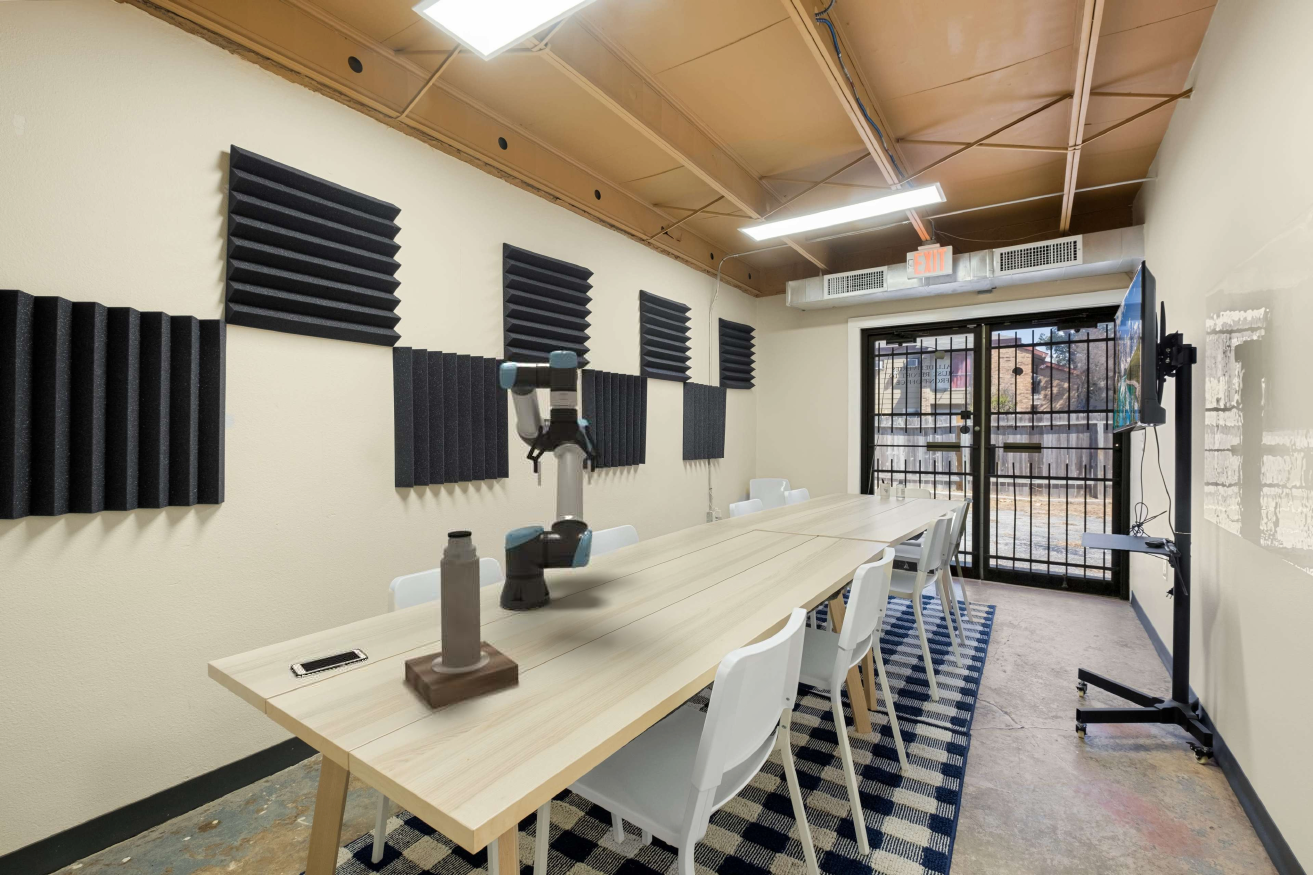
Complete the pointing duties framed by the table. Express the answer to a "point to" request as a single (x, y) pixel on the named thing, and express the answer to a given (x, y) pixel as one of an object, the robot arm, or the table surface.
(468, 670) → the walnut riser
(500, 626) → the table surface
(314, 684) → the table surface
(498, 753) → the table surface
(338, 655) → the cell phone
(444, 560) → the thermos bottle
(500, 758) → the table surface
